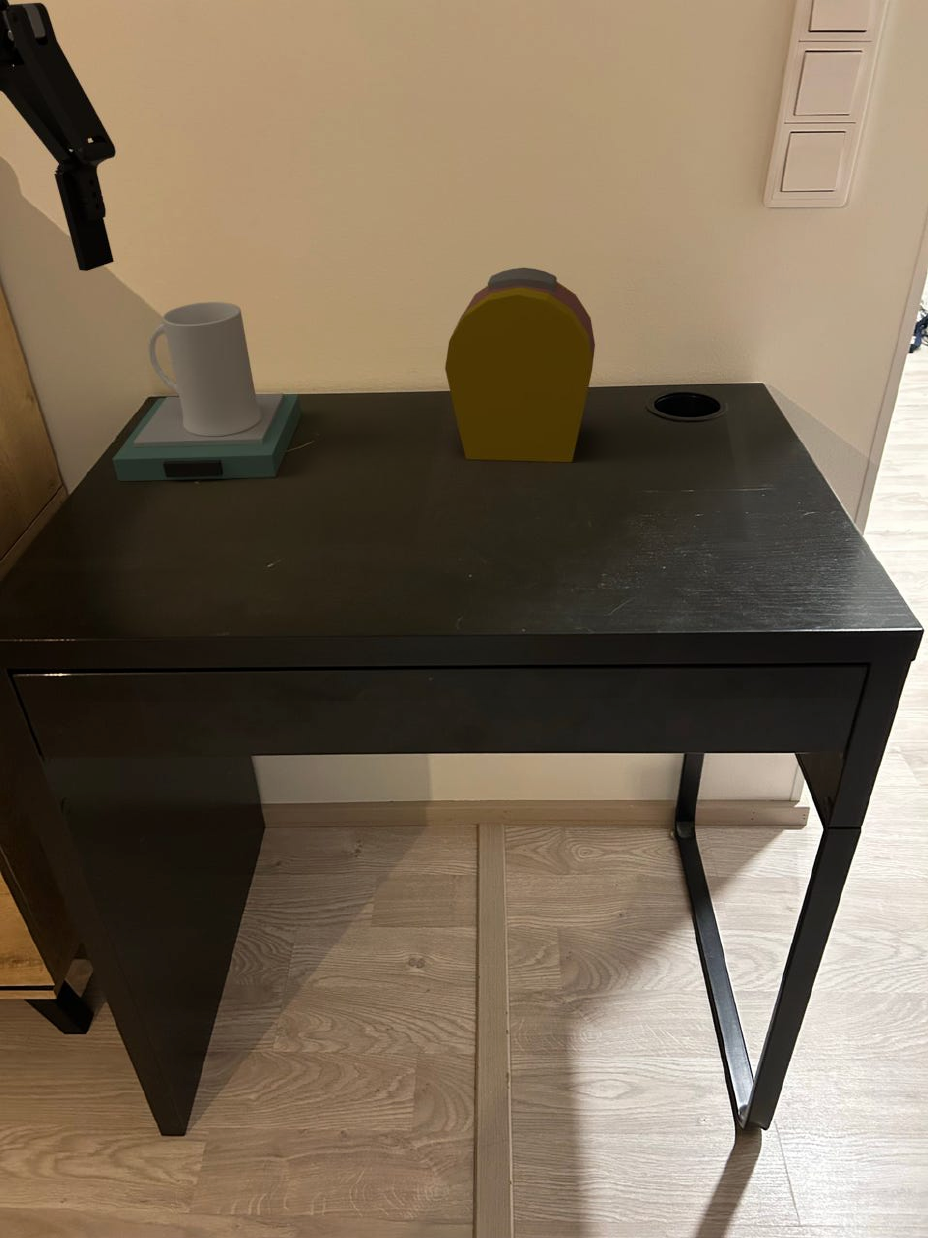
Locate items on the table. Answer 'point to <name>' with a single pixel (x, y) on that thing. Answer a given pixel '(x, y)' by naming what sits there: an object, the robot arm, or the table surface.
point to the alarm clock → (521, 369)
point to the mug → (209, 368)
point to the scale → (208, 444)
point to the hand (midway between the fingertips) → (33, 258)
